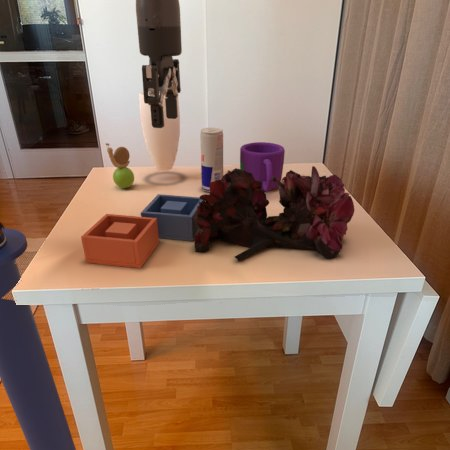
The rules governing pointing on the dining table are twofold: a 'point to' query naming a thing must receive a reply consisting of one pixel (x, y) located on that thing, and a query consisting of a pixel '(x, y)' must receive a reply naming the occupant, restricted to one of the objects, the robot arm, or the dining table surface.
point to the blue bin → (174, 217)
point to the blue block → (175, 208)
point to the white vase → (160, 136)
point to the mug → (263, 162)
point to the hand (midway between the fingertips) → (165, 122)
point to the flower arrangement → (275, 225)
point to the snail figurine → (121, 167)
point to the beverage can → (211, 156)
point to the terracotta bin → (120, 242)
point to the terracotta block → (122, 231)
